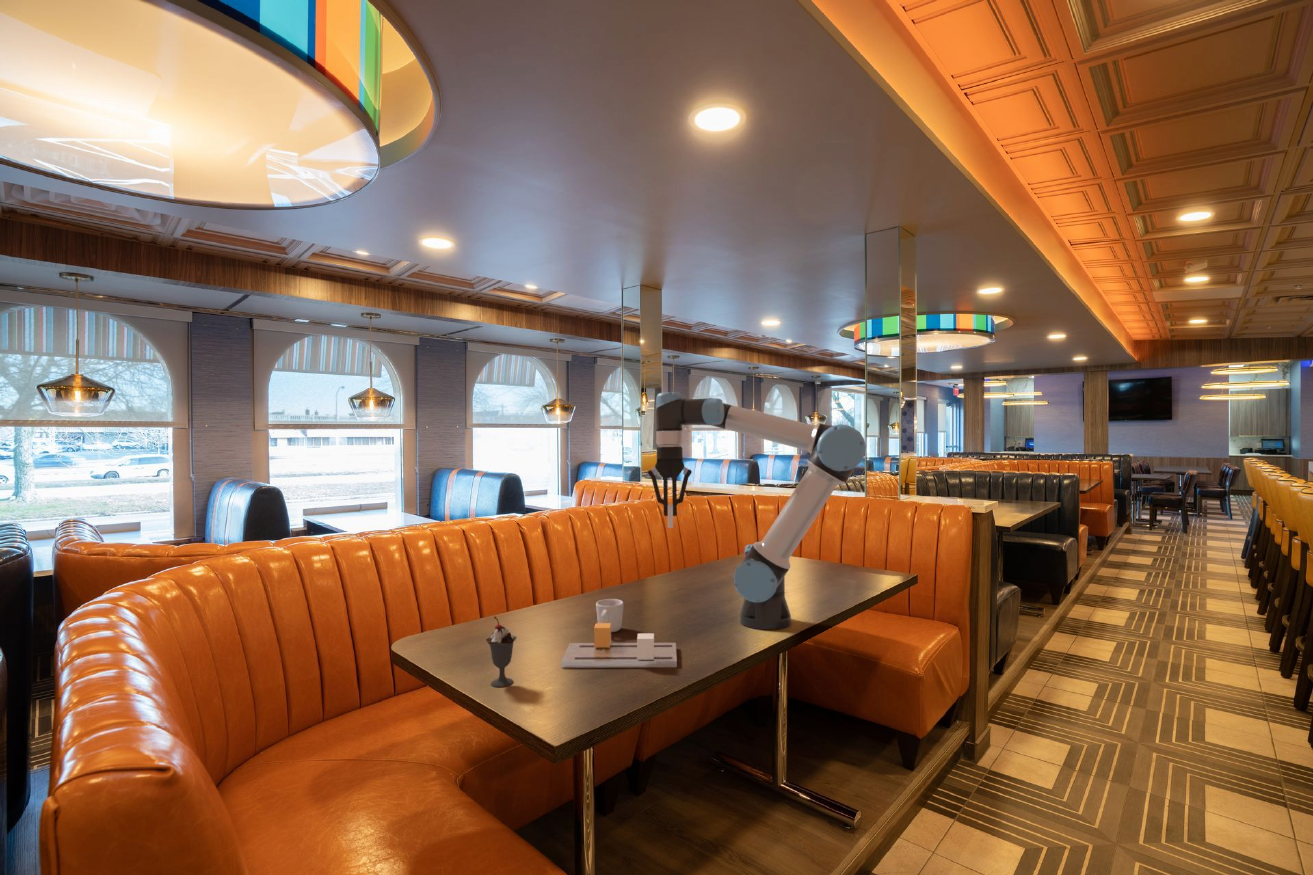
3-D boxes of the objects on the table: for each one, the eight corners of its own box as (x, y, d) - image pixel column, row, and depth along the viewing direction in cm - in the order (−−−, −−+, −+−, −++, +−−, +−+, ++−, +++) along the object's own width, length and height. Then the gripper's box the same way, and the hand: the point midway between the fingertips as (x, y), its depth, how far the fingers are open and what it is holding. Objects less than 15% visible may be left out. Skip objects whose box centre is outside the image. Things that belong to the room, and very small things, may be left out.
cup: (617, 638, 169) (616, 609, 169) (589, 636, 170) (589, 608, 170) (626, 626, 179) (626, 599, 179) (600, 625, 181) (600, 598, 181)
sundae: (489, 677, 142) (488, 613, 142) (518, 676, 143) (518, 612, 143) (484, 689, 136) (483, 622, 135) (514, 688, 136) (514, 621, 136)
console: (675, 648, 161) (675, 642, 161) (676, 667, 148) (676, 660, 148) (569, 648, 161) (569, 642, 161) (561, 667, 148) (561, 660, 148)
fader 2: (654, 653, 152) (653, 633, 152) (653, 659, 148) (653, 638, 148) (638, 653, 152) (637, 633, 152) (637, 659, 148) (637, 638, 148)
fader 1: (611, 642, 160) (610, 623, 160) (609, 647, 156) (609, 627, 156) (595, 642, 160) (595, 623, 160) (594, 647, 156) (594, 627, 156)
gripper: (691, 445, 181) (692, 525, 181) (647, 446, 181) (648, 525, 181) (692, 445, 173) (693, 529, 173) (646, 446, 173) (647, 529, 173)
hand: (670, 527), depth 177 cm, fingers closed
